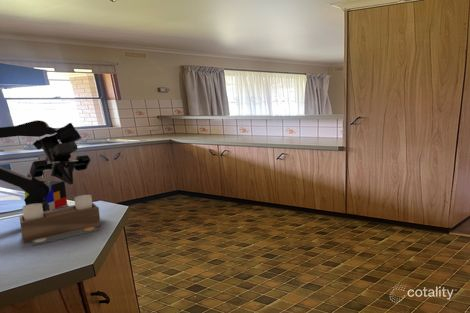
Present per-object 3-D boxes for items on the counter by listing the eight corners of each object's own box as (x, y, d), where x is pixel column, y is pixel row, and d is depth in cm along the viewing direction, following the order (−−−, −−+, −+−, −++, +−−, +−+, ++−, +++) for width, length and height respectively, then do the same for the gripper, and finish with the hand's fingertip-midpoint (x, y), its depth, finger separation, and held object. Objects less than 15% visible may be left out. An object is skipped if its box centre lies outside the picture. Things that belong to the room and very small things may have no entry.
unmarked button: (24, 225, 96) (22, 205, 95) (43, 221, 99) (41, 202, 98) (25, 229, 92) (22, 208, 91) (45, 225, 95) (42, 205, 94)
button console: (21, 234, 97) (19, 216, 96) (94, 219, 109) (92, 202, 109) (23, 243, 90) (20, 223, 89) (100, 225, 102) (98, 207, 101)
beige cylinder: (75, 215, 104) (73, 196, 103) (91, 211, 107) (89, 194, 106) (78, 218, 100) (75, 199, 99) (94, 215, 103) (92, 196, 102)
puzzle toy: (48, 211, 123) (45, 186, 121) (27, 211, 125) (24, 186, 123) (67, 204, 132) (64, 181, 131) (47, 204, 134) (44, 181, 133)
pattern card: (31, 241, 91) (31, 239, 91) (94, 227, 101) (94, 225, 101) (33, 245, 87) (32, 243, 87) (97, 230, 97) (97, 228, 97)
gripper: (29, 136, 101) (48, 172, 96) (85, 133, 116) (104, 164, 111) (22, 159, 107) (40, 195, 101) (77, 153, 122) (94, 184, 116)
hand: (71, 183), depth 107 cm, fingers closed
